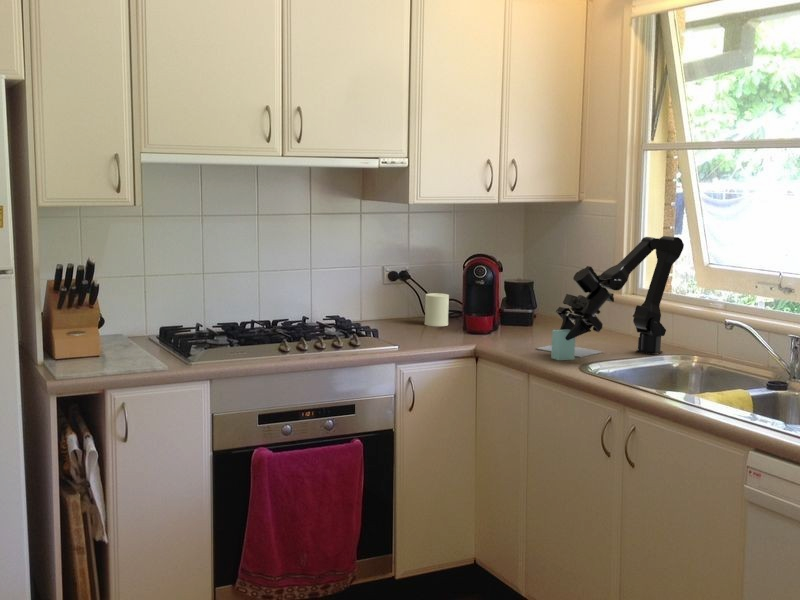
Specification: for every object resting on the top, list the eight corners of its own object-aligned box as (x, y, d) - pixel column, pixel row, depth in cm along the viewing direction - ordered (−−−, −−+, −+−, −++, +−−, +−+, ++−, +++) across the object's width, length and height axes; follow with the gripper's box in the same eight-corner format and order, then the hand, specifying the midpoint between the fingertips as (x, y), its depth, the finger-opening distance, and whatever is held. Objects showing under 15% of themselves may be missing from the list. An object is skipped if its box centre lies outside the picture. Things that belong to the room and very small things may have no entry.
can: (451, 323, 352) (451, 292, 350) (444, 327, 343) (445, 295, 341) (428, 321, 355) (429, 291, 353) (421, 325, 346) (422, 294, 344)
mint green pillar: (574, 359, 288) (575, 331, 287) (558, 360, 286) (559, 332, 284) (567, 356, 292) (568, 329, 291) (551, 357, 289) (552, 330, 288)
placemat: (603, 353, 299) (603, 351, 299) (580, 357, 290) (580, 356, 290) (558, 344, 312) (558, 343, 312) (535, 349, 303) (535, 348, 303)
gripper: (562, 281, 296) (532, 316, 293) (596, 289, 279) (565, 326, 276) (581, 304, 300) (551, 339, 297) (616, 313, 283) (585, 350, 280)
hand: (562, 338), depth 288 cm, fingers closed on mint green pillar, 4 cm apart
